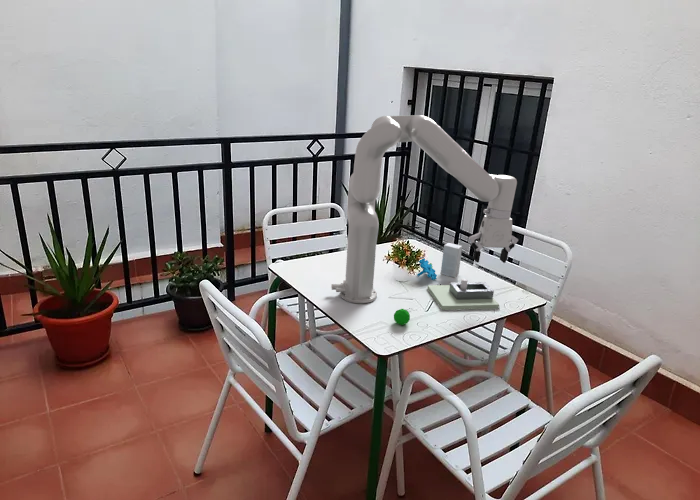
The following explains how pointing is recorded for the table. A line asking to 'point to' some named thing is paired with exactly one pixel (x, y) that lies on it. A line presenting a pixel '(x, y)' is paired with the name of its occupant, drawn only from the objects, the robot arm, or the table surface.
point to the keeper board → (450, 302)
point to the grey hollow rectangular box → (471, 291)
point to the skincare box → (451, 259)
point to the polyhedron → (402, 316)
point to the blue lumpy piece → (427, 269)
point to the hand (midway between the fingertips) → (489, 261)
